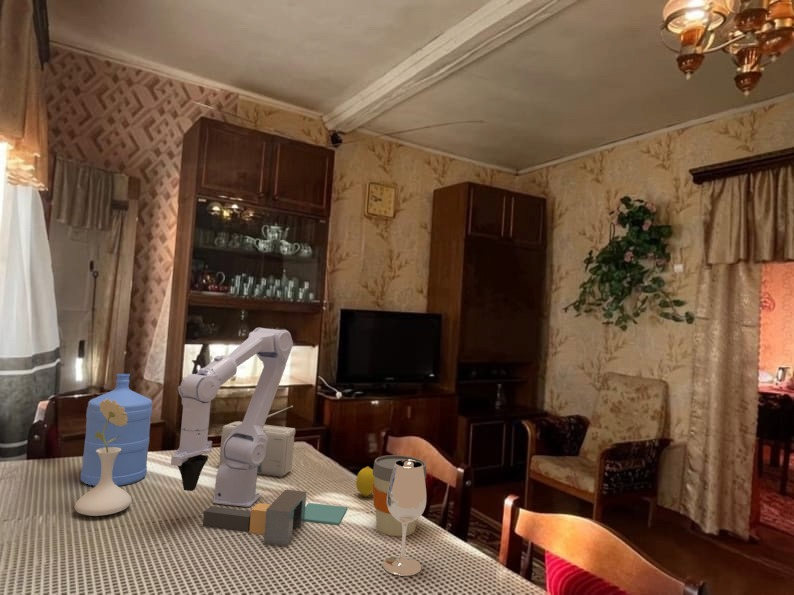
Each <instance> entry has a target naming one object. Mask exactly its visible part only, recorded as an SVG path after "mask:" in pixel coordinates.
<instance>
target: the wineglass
mask: <svg viewBox="0 0 794 595" xmlns="http://www.w3.org/2000/svg"><path fill="white" fill-rule="evenodd" d="M426 485H427V484H426V479H425V477H424V470H423V464H422V463H421V462H418V461H414V460H398V461H396V462H395V464H394V468H393V471H392V475H391V478H390V482H389V487H388V492H387V507H388V510H389V512H390V514H391V515H392V516H393V517H394V518H395V519H396V520H397V521H399V522H401V523H402V536H401V550H400V551H401V552H400V555H395V556H390V557H388V558H386V559H384V560H383V561H382V567H383V569H384V571H386V572H387V573H389V574H392V575H395V576H398V577H399V576H400V577H410V576H415V575H417V574H418V573H420V572H421V571H422V565H421V563H420V562H419V561H418V560H416V559H414V558H412V557H410V556H406V539H407V536H406V530H407V526H408V523H411V522H413V521H415V520H416V519H417V520H418V519H419V518H420V517H421V516H422V515H423V513H424V511H425V509H426V505H427V488H426Z"/></svg>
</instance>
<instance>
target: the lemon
mask: <svg viewBox="0 0 794 595" xmlns="http://www.w3.org/2000/svg"><path fill="white" fill-rule="evenodd" d="M355 483H356V484H355V485H356V489H357V491H358V492H359V493H360V494H361V495H363V497H365V498H366V497H368V496H369V495H371V494H373V484H374V475H373V468H371V467H370V466H366V467H363V468H362V469H361V470H360V471H359V472H358V473H357V476H356V482H355Z"/></svg>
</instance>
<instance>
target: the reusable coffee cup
mask: <svg viewBox="0 0 794 595" xmlns="http://www.w3.org/2000/svg"><path fill="white" fill-rule="evenodd" d="M398 460H414V461H418V462H421V463H422V464H423V470H424V477H425V480H426V479H427V464H426V462H425V461H424V460H422V459H419V458H417V457H413V456H406V455H397V454H396V455H395V454H394V455H393V454H392V455H382V456H379V457H377V458H375V459H374V463H373V468H372V469H373V475H374V484H373V493H372V496H373V497H372V498H373V499H372V500H373V506H374V508H375V519H376V520H375V522H376V529H377V530H378V531H379V532H380V533H382V534H384V535H386V536H390V537H391V536H392V537H402V523H401V522H399V521H397V520H396V519H395V518H394V517H393V516H392V515H391V514H390V512H389V510H388V507H387V492H388V487H389V482H390V478H391V475H392V471H393V468H394V464H395V462H396V461H398ZM417 522H418V519H416V520H415V521H413V522H411V523H408V526H407V530H406V537H407V536H411V535H412V534H413V533H414V532H416V528H417Z"/></svg>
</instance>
